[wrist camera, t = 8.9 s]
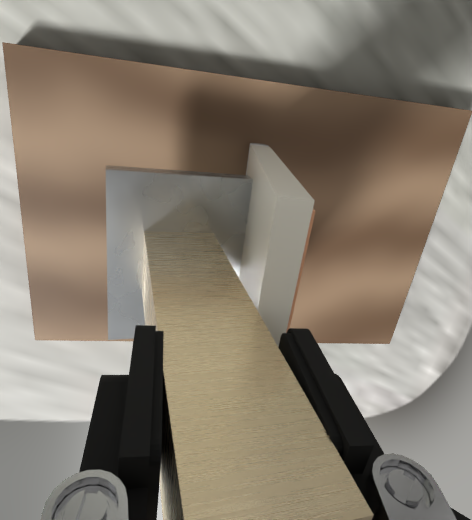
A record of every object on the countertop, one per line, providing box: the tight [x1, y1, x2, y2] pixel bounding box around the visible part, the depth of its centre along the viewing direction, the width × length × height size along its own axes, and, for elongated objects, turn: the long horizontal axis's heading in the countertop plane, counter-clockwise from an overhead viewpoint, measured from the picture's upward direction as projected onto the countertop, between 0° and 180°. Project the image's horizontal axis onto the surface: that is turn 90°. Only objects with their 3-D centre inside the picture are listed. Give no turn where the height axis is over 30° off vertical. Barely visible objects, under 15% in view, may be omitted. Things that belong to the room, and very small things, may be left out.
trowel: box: [106, 165, 374, 520], centre depth 12 cm, size 8×6×13 cm
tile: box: [239, 143, 315, 346], centre depth 17 cm, size 10×11×1 cm
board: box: [2, 42, 472, 344], centre depth 23 cm, size 16×24×2 cm, turn 83°
